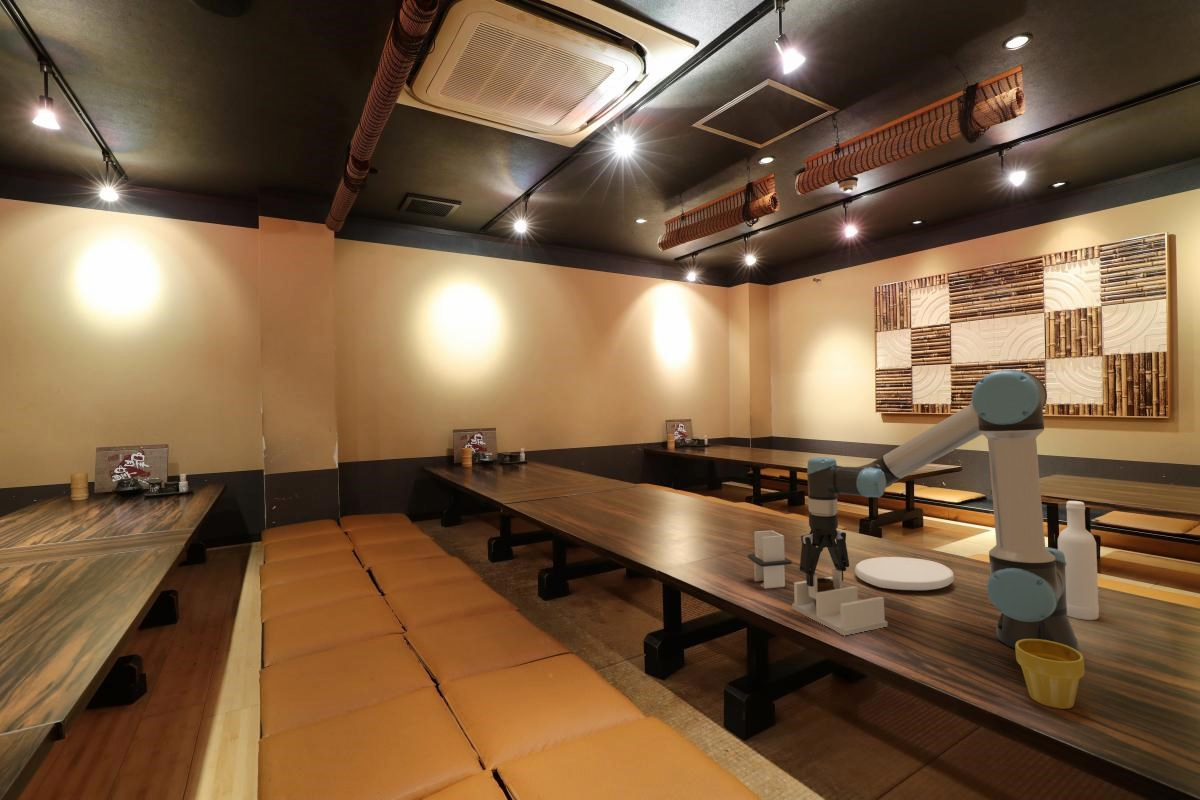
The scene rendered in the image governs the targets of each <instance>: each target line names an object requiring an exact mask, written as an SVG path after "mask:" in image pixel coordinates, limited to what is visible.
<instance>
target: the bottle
mask: <svg viewBox="0 0 1200 800" xmlns="http://www.w3.org/2000/svg"><path fill="white" fill-rule="evenodd" d="M1065 503H1066V505H1065V509H1066V523H1067V526H1066V527H1064V529H1063V530H1060V532H1059V535H1058V537H1057V550H1060V551H1062V552H1063V553H1064V556H1065V562H1066V566H1065V574H1066V601H1067V617H1069V618H1074V619H1077V620H1085V621H1095V620H1098V619H1099V617H1100V616H1099V615H1100V614H1099V613H1100V607H1099V591H1098V589H1099V588H1098V587H1099V585H1098V583H1099V582H1098V559H1097V557H1098V556H1097V555H1098V554H1097V542H1096V539H1095V537H1094V534H1092V533H1091V532H1090V531H1089V530H1087V528H1086V515H1085V514H1086V513H1085V512H1086V506H1085V503H1084V502H1083V501H1078V500H1068V501H1066V502H1065Z"/></svg>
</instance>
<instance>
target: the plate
mask: <svg viewBox="0 0 1200 800" xmlns="http://www.w3.org/2000/svg"><path fill="white" fill-rule="evenodd" d="M854 574H855V575H856V576H857V578H859V579H860V580H862V581H863V582H865V583H867V584H870V585H872V586H875V587H878V588H883V589H890V590H901V591H929V590H931V591H932V590H937V589H938V590H939V589H942V588H945V587H948V586H949V585H951V584H952V583H953V582H954V579H955V575H954V572H953V570H951V568H950V567H948V566H947V565H944V564H942V563H940V562H938V561H937V562H936V561H932V560H929V559H923V558H913V557H906V556H905V557H904V556H903V557H902V556H880V557H872V558H866V559H863V560H861V561H859V562H858V563H857V564H856V565H855V567H854Z"/></svg>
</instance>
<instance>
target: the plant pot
mask: <svg viewBox="0 0 1200 800" xmlns="http://www.w3.org/2000/svg"><path fill="white" fill-rule="evenodd" d="M1014 649H1015V651H1014V652H1015V658H1016V659H1015V660H1016V662H1017V663H1018V664H1019V665H1020V666H1021V671H1022V673H1023V677H1024V680H1025V684H1026V688H1027V692H1028V695H1029V697H1030V698H1031V699H1032V700H1033V701H1035V702H1037V703H1039V704H1041V705H1043V706H1046V707H1050V708H1054V709H1062V710H1063V709H1064V710H1065V709H1067V710H1068V709H1071V708H1073V707H1074V705H1075V701H1076V696H1077V692H1078V687H1079V683H1080V679H1081V678H1083V677H1084V675H1085V658H1084V655H1083V654H1082V653H1081V651H1079V650H1078V651H1077V650H1075V649H1074V648H1071V647H1069V646H1067V645H1064V644H1061V643H1057V642H1053V641H1048V640H1041V639H1022V640H1019V641H1017V642H1016V644H1015V648H1014Z"/></svg>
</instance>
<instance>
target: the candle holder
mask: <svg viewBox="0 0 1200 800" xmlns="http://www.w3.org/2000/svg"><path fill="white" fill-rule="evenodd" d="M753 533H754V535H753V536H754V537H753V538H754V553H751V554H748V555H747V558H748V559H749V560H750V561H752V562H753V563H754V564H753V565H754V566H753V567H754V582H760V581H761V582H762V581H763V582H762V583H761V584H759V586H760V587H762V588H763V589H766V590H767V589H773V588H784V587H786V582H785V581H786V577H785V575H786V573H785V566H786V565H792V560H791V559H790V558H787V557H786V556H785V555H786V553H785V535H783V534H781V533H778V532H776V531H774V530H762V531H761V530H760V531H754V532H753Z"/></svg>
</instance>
